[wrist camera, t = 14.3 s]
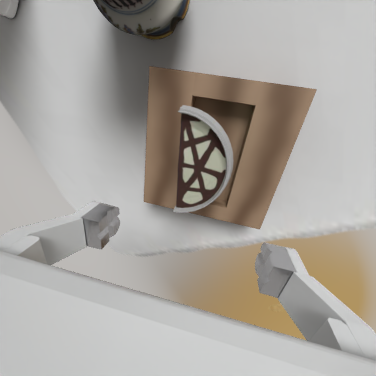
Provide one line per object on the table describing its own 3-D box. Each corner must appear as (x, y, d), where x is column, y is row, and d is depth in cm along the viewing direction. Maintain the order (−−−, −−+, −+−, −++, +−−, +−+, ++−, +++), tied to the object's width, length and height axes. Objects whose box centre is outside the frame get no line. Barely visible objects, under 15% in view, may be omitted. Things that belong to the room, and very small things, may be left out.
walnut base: (155, 189, 36) (143, 201, 31) (163, 74, 27) (149, 66, 22) (254, 211, 33) (259, 229, 28) (298, 93, 25) (316, 89, 20)
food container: (224, 189, 29) (223, 225, 20) (188, 184, 30) (172, 215, 21) (239, 110, 24) (246, 110, 15) (195, 106, 25) (178, 104, 16)
